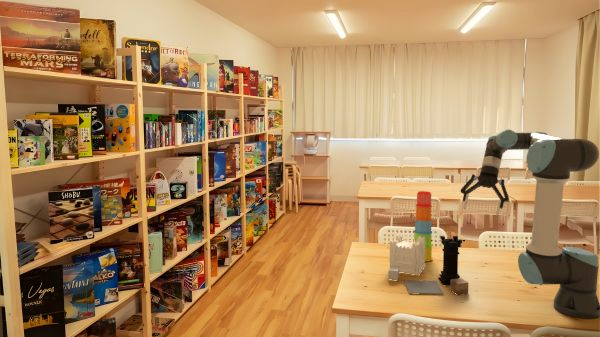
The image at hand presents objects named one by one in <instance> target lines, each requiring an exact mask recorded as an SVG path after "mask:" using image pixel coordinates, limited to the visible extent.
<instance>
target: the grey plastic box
mask: <svg viewBox="0 0 600 337" xmlns="http://www.w3.org/2000/svg"><path fill="white" fill-rule="evenodd" d="M398 278H399V279H400V273H399V267H397V266H390V265H389V268H388V280H389V279H392V280H398V281H399V279H398Z"/></svg>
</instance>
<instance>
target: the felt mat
mask: <svg viewBox="0 0 600 337" xmlns="http://www.w3.org/2000/svg"><path fill="white" fill-rule="evenodd" d="M404 282H405V283H404ZM403 283H404V285H405V284H406V285H405V288H406V287H407V288H406V290H407V289H408V290H407V292H408V291H409V293H419V294H418V295H420V294H445V293H444V291H443V290H442V288H441V286H440V284H439V283H438V281H437V280H425V279H424V280H421V279H420V280H417V279H416V280H415V279H414V280H413V279H411V280H406V279H405V280H403ZM409 293H408V294H409Z"/></svg>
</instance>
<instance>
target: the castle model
mask: <svg viewBox="0 0 600 337" xmlns="http://www.w3.org/2000/svg"><path fill="white" fill-rule="evenodd" d="M403 237H404V236H403V234H400V233H397V234H396V236H395V239H392V238H391V239H390V240H389V267H390V266H397V267H399V272H404V273H409V274H415V275H419V274H420V273H421V274H422V272H423V271H424V269H425V268H426V266H425V265H426V263H425V262H426V261H425V237H422V236H419V237H418V241H416V242H415V241H414V239H413V240H411V239H404V238H403ZM424 267H425V268H424ZM423 268H424V269H423ZM422 270H423V271H422ZM421 271H422V272H421ZM421 274H420V275H421ZM420 275H419V276H420Z"/></svg>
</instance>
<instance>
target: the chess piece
mask: <svg viewBox="0 0 600 337" xmlns="http://www.w3.org/2000/svg"><path fill="white" fill-rule="evenodd" d="M439 238H440V242H441V243H440V244H442V246H443V248H442V249H441V250H442V252H443V259H442V260H443V261H442V262H443V263H442V264H443V265H442V266H443V267H442V270H440V273H439V276H438V277H437V280H440V281H441V282H440V281H439V282H440V283H441V284H442V286H443V285H451V279H458V278H461V276H460V274H459V273H458V272H459V271H458V270H459V268H458V266H459V255H460V252H459V248H461V247H462V244H463V239H459V236H458V235H453V236H452V238H446V237H445V236H444V235H440V237H439Z"/></svg>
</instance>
